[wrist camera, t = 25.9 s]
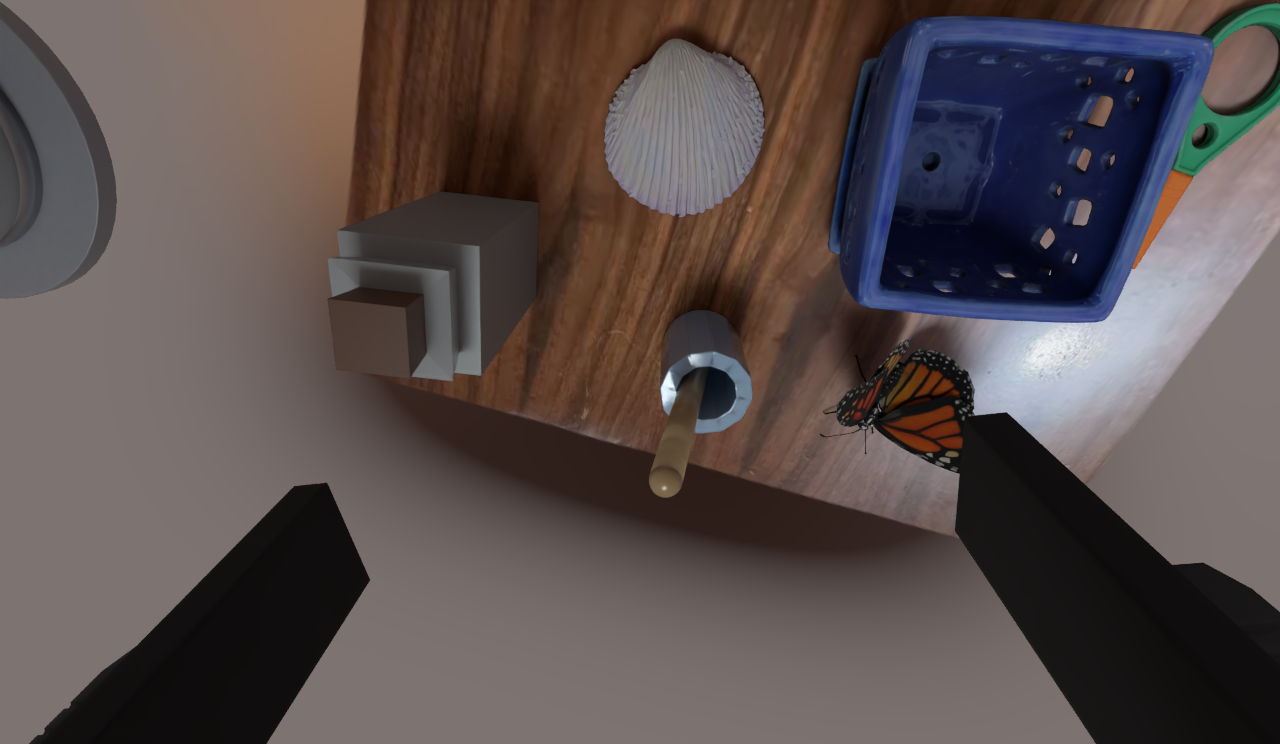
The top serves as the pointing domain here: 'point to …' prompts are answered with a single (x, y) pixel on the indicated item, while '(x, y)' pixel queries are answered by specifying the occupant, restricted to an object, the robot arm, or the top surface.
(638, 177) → the seashell
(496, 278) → the perfume bottle
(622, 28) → the top surface
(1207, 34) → the magnifying glass
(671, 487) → the stick
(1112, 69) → the flower pot
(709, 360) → the holder
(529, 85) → the top surface
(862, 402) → the butterfly
